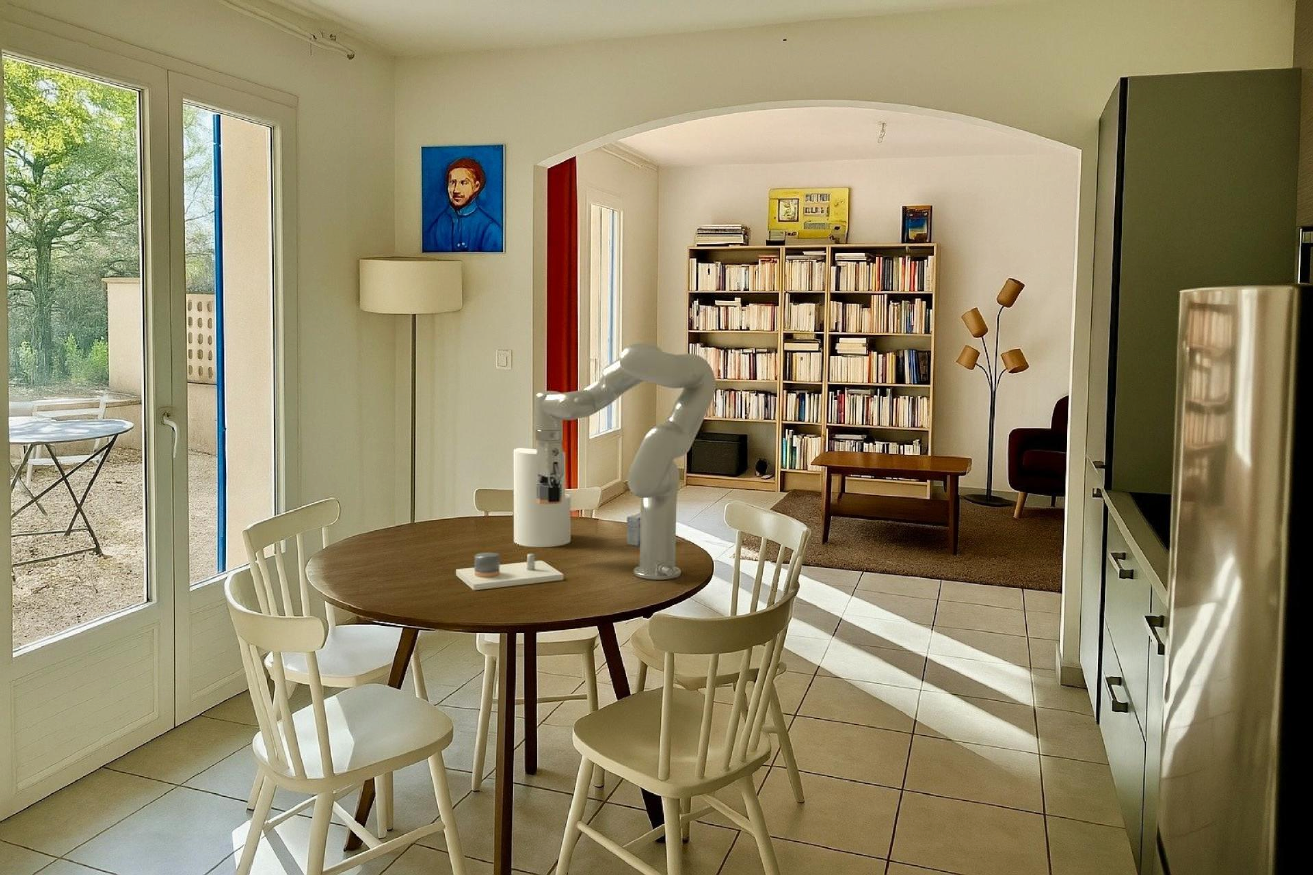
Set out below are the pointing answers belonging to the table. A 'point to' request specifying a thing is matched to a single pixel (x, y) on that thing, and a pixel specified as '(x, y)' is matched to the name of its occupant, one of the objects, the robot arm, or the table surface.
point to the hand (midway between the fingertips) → (549, 498)
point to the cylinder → (537, 506)
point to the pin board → (506, 572)
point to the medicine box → (633, 530)
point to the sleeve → (545, 494)
